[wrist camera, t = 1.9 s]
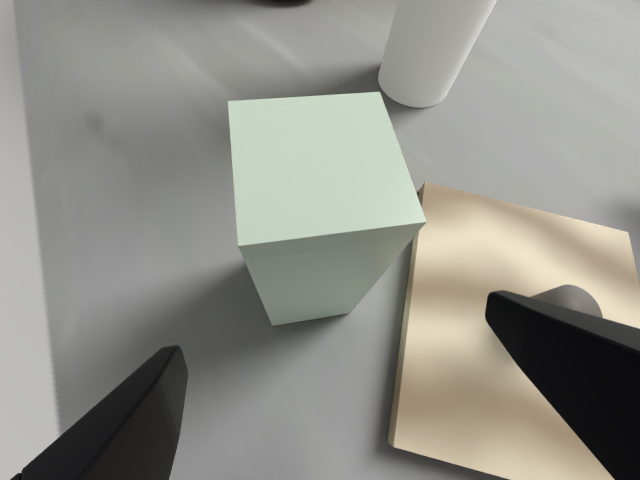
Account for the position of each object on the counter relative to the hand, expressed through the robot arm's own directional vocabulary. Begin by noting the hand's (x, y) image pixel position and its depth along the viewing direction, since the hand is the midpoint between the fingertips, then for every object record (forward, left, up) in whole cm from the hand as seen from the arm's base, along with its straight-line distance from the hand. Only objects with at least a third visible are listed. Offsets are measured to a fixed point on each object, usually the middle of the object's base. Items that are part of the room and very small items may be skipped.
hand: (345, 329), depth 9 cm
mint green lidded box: (+5, +2, -11) cm, 12 cm away
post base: (+6, -13, -11) cm, 18 cm away
